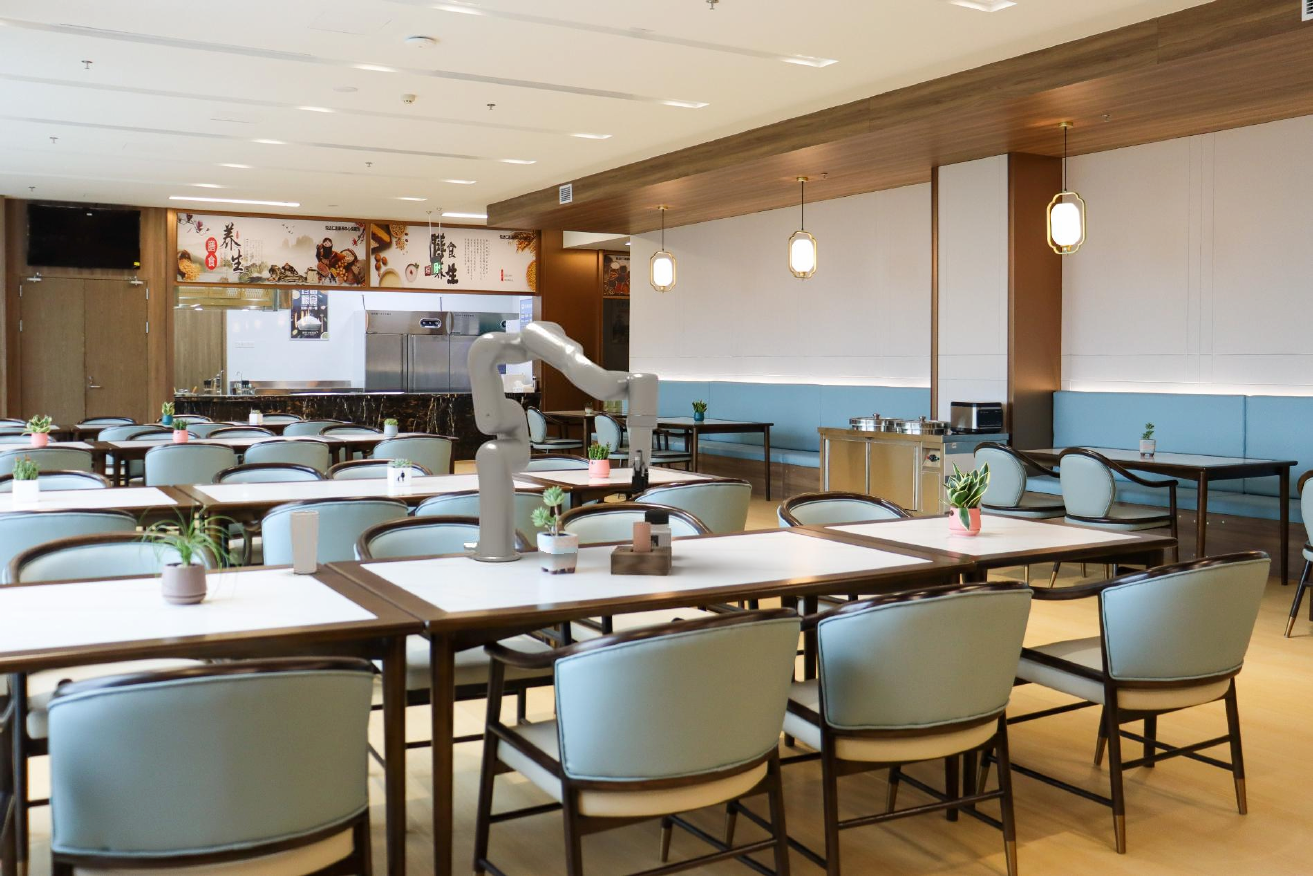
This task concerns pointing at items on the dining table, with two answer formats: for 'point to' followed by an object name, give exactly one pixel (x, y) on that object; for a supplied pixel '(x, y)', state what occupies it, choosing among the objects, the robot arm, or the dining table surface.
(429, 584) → the dining table surface
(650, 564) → the socket block
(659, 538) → the container
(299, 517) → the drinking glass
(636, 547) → the peg
